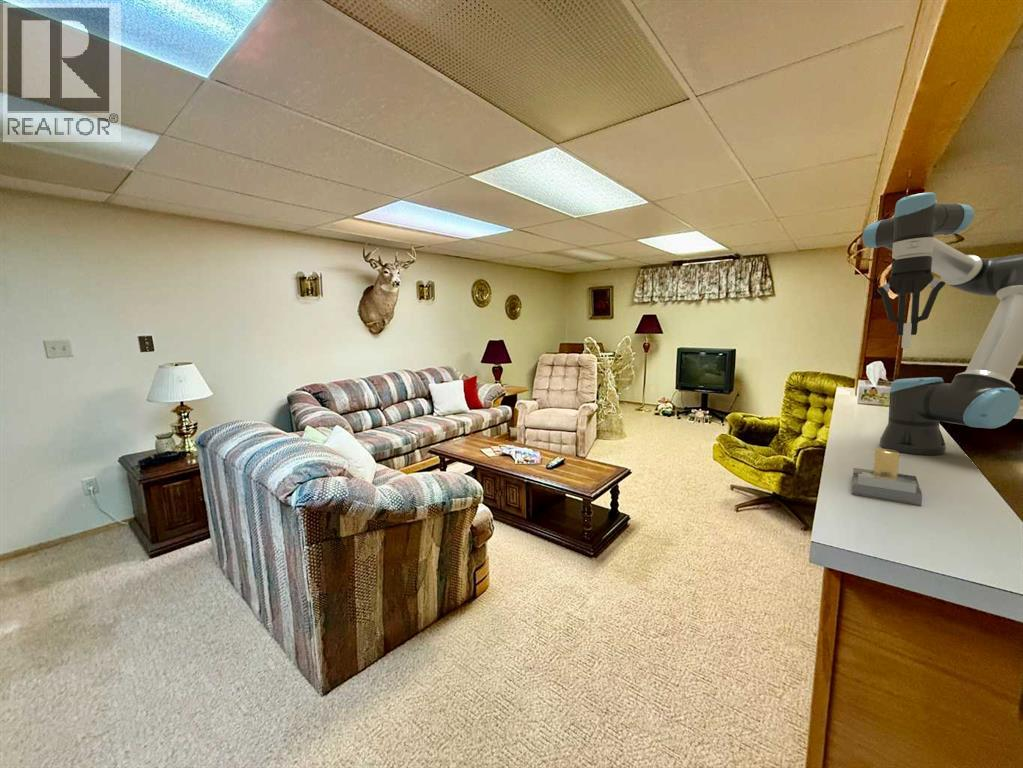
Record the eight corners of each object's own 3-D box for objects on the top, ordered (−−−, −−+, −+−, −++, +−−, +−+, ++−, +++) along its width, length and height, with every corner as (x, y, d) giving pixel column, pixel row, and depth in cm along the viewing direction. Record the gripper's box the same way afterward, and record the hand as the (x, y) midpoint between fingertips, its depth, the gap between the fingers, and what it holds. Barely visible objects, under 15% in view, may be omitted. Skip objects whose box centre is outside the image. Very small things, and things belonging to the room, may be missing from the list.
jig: (852, 476, 109) (853, 459, 109) (915, 485, 101) (916, 467, 101) (852, 494, 99) (853, 475, 98) (921, 505, 91) (922, 485, 90)
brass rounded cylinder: (867, 486, 102) (870, 448, 101) (887, 486, 102) (890, 448, 101) (880, 493, 98) (883, 453, 97) (901, 493, 97) (904, 453, 96)
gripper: (878, 260, 106) (873, 348, 109) (950, 251, 98) (943, 347, 101) (877, 262, 112) (872, 347, 115) (945, 254, 103) (938, 346, 106)
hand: (905, 347), depth 108 cm, fingers closed
